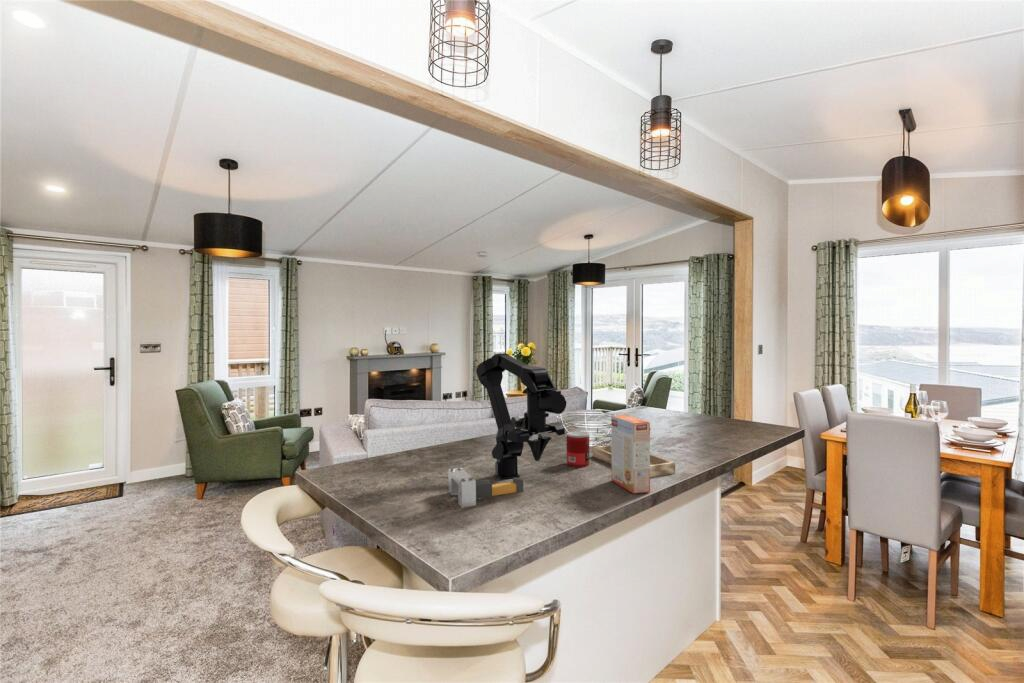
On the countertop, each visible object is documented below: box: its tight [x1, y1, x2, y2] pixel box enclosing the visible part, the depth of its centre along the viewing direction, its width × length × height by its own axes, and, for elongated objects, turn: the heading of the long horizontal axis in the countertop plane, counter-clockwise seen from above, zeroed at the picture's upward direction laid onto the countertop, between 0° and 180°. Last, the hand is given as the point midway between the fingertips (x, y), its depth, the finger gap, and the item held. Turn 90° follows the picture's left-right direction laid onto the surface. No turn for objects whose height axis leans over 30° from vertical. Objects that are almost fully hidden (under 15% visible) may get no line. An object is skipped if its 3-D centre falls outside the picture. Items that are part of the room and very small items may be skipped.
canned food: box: [566, 430, 590, 468], centre depth 173 cm, size 8×8×11 cm
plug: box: [476, 477, 524, 500], centre depth 143 cm, size 15×4×4 cm, turn 112°
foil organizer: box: [592, 444, 676, 478], centre depth 172 cm, size 13×30×4 cm, turn 22°
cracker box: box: [610, 414, 651, 495], centre depth 147 cm, size 14×6×21 cm, turn 15°
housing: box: [447, 467, 477, 509], centre depth 139 cm, size 4×14×7 cm, turn 22°
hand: (537, 460), depth 148 cm, fingers closed
